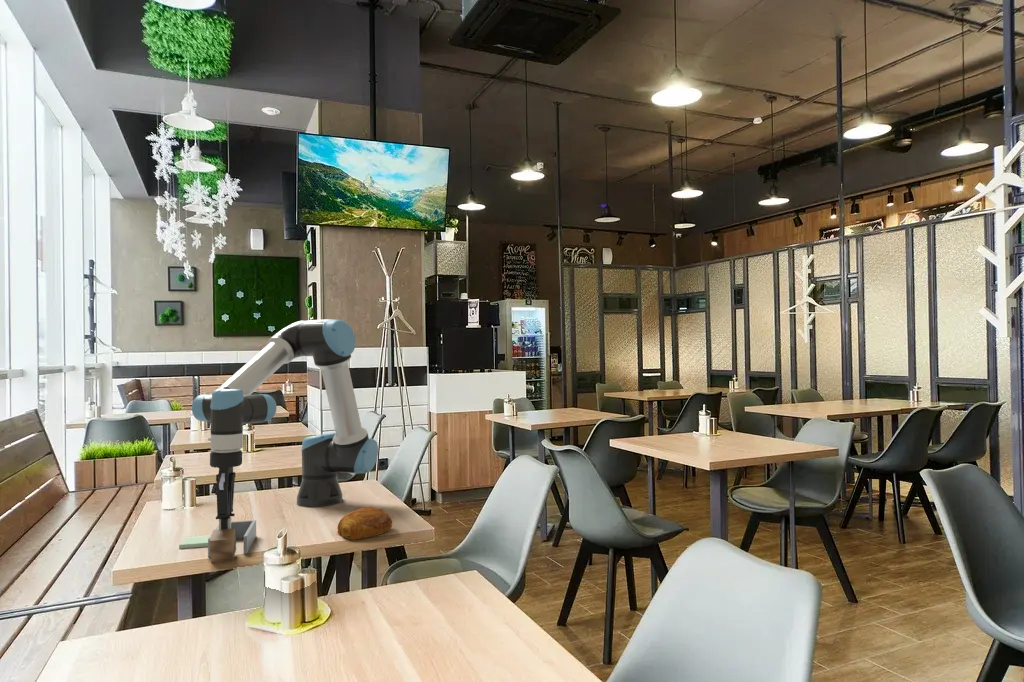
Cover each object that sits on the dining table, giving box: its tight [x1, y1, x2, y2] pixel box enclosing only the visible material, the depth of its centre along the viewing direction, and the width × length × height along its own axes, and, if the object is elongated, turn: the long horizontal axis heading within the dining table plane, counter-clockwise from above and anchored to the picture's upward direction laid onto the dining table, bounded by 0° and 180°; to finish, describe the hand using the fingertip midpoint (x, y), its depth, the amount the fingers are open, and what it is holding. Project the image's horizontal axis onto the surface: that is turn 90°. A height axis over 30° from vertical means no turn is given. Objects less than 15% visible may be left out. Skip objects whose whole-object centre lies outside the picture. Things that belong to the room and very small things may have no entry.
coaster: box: [178, 534, 212, 550], centre depth 175 cm, size 8×8×1 cm
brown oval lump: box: [337, 506, 393, 541], centre depth 184 cm, size 14×16×8 cm
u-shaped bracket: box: [207, 519, 257, 558], centre depth 172 cm, size 9×17×4 cm, turn 14°
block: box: [210, 528, 237, 563], centre depth 161 cm, size 5×5×6 cm
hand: (224, 543), depth 164 cm, fingers closed
